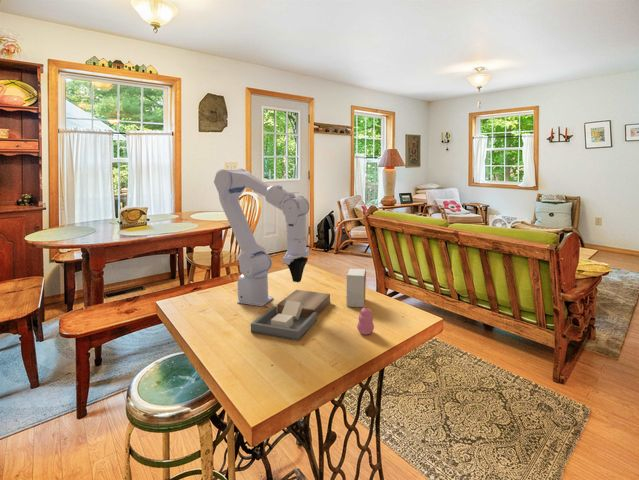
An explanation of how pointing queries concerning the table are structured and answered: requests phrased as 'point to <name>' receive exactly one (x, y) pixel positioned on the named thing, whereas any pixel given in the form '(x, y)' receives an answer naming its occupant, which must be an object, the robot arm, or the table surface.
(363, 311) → the dog chew toy
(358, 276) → the small box
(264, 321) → the box
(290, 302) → the rear tile
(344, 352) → the table surface
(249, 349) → the table surface
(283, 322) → the front tile
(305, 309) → the walnut plate
